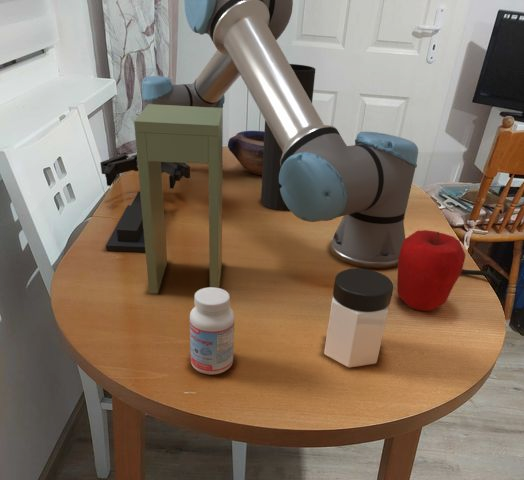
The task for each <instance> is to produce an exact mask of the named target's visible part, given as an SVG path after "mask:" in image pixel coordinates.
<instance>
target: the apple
mask: <svg viewBox="0 0 524 480" xmlns="http://www.w3.org/2000/svg"><path fill="white" fill-rule="evenodd" d="M465 260H466V252H465V250H464V248H463V245H462V244H461V242H460V241H459V240H458V239H457V238H456V237H455V236H453V235H449V234H447V233H444V232H439V231H436V230H428V229H423V230H416V231H415V232H413V233H412V234H410V235H408V236H407V237H405V239H404V241H403V244H402V247H401V250H400V253H399V257H398V265H397V282H396V284H397V285H396V292H397V295H398V297H399V298H400V299H401V300H402V301H403V302H404V303H405V304H406V305H407V306H408V307H409V308H410V309H413V310H416V311H421V312H432V311H435V309H438V308H439V307H441V306H443V305H445V304H446V302H447V300H448V299H449V296H450V294H451V292H452V290H453V288H454V286H455V285H456V282H457V281H458V279H459V277H460V275H461V274H460V273H461V272H462V269H464V264H465Z"/></svg>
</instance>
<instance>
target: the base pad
mask: <svg viewBox="0 0 524 480" xmlns="http://www.w3.org/2000/svg"><path fill="white" fill-rule="evenodd" d="M130 206H131V204H128V205H127V206H126V207H125V210H124V211H123V213H122V215H121V217H120V218H119V221H118V222H117V223H116V226H115V228H114V229H113V231H112V233H111V235H110V237H109V239H108V241H107V242H106V244H105V250H106V251H107V252H125V253H146V251H145V240H144V231H143V233H142V235H141V237H140V239H139V241H138V242H120V241H118V237H117V228H118V226H119V225H120V223H121V221H122V219H123V218H124V216H125V214H126V212H127V211H128V209H129V207H130Z"/></svg>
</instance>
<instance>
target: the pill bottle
mask: <svg viewBox="0 0 524 480" xmlns="http://www.w3.org/2000/svg"><path fill="white" fill-rule="evenodd" d="M230 296H231V295H230V293H229V292H228V291H227V290H225V289H223V288H220V287H219V288H215V287H210V286H209V287H203V288H200V289H198V290H197V291H196V292H194V302H193V304H194V307H193V308H192V309H191V311H190V313H189V350H190V363H191V366H192V367H193V369H195V370H196V371H197V372H199V373H201V374H205V375H219V374H223V373H224V372H226V371H227V370H229V369H230V368H231V367H232V365H233V363H234V347H235V346H234V343H235V313H234V310H233V309H232V308H231V306H230V305H231V301H230V300H231V298H230Z"/></svg>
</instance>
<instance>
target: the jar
mask: <svg viewBox="0 0 524 480" xmlns="http://www.w3.org/2000/svg"><path fill="white" fill-rule="evenodd" d="M393 292H394V283H393V281H392V280H391V279H390V278H389V277H388V276H387V275H385V274H383V273H381V272H379V271H376V270H374V269H369V268H361V267H359V268H357V267H356V268H348V269H344V270H342V271H339V272H338V273H337V274H336V275H335V278H334V284H333V291H332V299H331V305H330V310H329V311H330V312H329V318H328V319H329V320H328V325H327V331H326V337H325V345H324V351H323V354H324V355H325V356H327V357H329V358H330V359H332V360H334V361H336V362H337V363H338V364H339V363H340V364H341V365H343V366H345V367H346V368H348V369H349V368H355V367H363V366H369V365H374V364H377V362H378V358H379V354H380V350H381V346H382V341H383V337H384V332H385V327H386V323H387V319H388V314H389V309H390V308H389V306H390V304H391V300H392V296H393Z"/></svg>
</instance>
